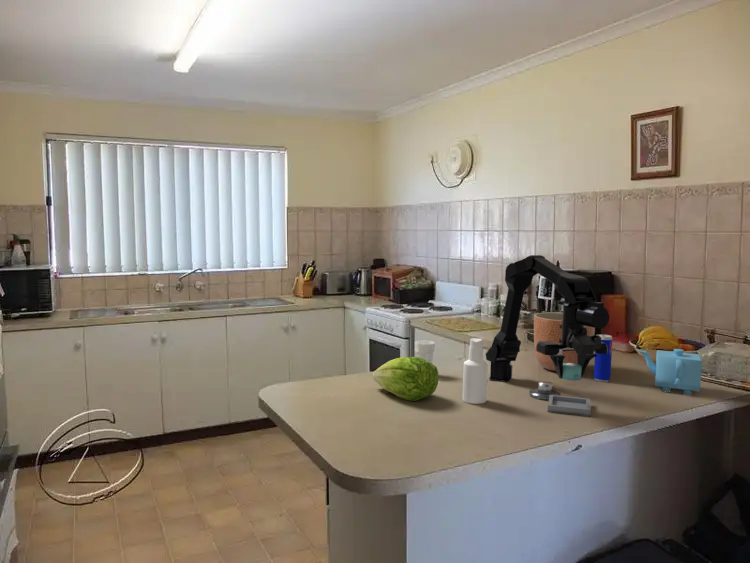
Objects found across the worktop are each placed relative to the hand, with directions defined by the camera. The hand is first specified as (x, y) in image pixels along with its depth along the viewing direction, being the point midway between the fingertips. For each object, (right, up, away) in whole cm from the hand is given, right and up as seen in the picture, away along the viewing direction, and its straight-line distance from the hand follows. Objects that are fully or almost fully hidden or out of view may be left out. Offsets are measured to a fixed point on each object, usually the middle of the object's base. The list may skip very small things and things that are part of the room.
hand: (570, 377), depth 163 cm
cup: (-38, -5, +36) cm, 52 cm away
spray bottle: (-26, -8, +6) cm, 28 cm away
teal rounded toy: (0, 0, 0) cm, 0 cm away
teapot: (+38, -7, +24) cm, 46 cm away
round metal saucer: (-3, -7, +12) cm, 15 cm away
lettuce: (-46, -7, +11) cm, 48 cm away
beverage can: (+21, -6, +32) cm, 39 cm away
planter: (+13, -5, +47) cm, 49 cm away
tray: (0, -9, +1) cm, 9 cm away
